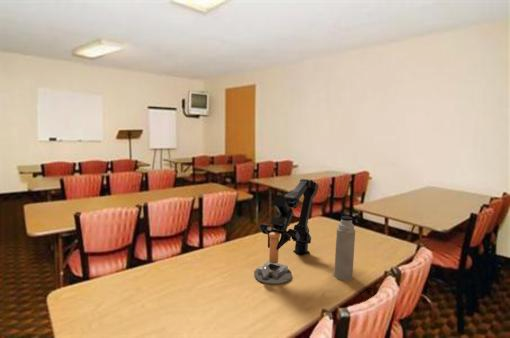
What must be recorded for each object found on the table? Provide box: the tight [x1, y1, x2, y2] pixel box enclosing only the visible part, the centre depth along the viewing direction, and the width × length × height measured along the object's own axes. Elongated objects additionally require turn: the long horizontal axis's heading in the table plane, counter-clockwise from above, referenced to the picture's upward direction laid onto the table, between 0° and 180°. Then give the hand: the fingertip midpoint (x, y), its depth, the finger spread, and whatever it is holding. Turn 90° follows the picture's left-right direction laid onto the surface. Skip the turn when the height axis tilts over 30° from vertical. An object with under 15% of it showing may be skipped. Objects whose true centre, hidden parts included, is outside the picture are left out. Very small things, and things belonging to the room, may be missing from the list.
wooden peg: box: [268, 232, 281, 263], centre depth 144 cm, size 5×5×13 cm
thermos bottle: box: [333, 215, 356, 282], centre depth 144 cm, size 8×8×28 cm
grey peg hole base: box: [253, 260, 293, 286], centre depth 146 cm, size 17×17×6 cm
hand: (272, 248), depth 143 cm, fingers closed on wooden peg, 4 cm apart
